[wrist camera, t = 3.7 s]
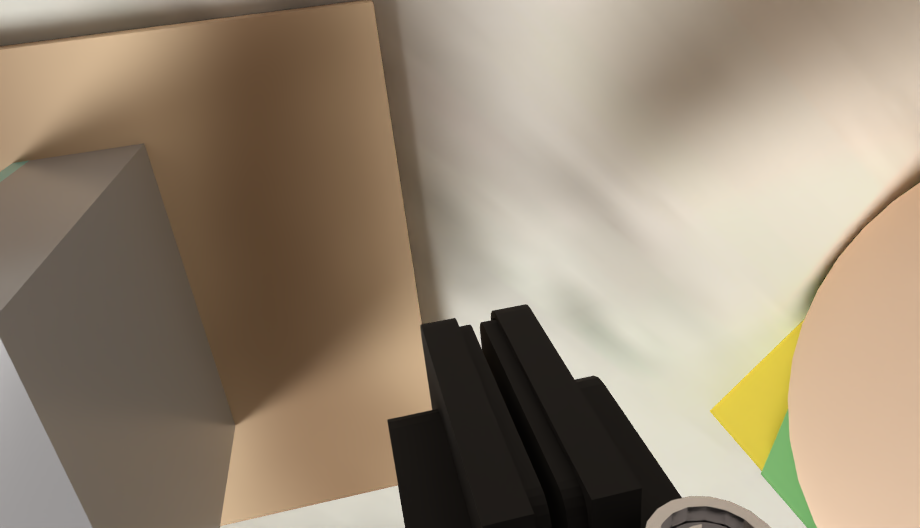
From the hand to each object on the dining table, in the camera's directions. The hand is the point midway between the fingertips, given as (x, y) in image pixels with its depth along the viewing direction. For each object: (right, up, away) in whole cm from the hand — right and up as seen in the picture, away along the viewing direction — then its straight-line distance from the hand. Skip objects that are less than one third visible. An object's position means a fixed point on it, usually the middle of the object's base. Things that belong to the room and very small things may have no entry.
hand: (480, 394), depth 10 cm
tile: (-7, +1, +4) cm, 8 cm away
